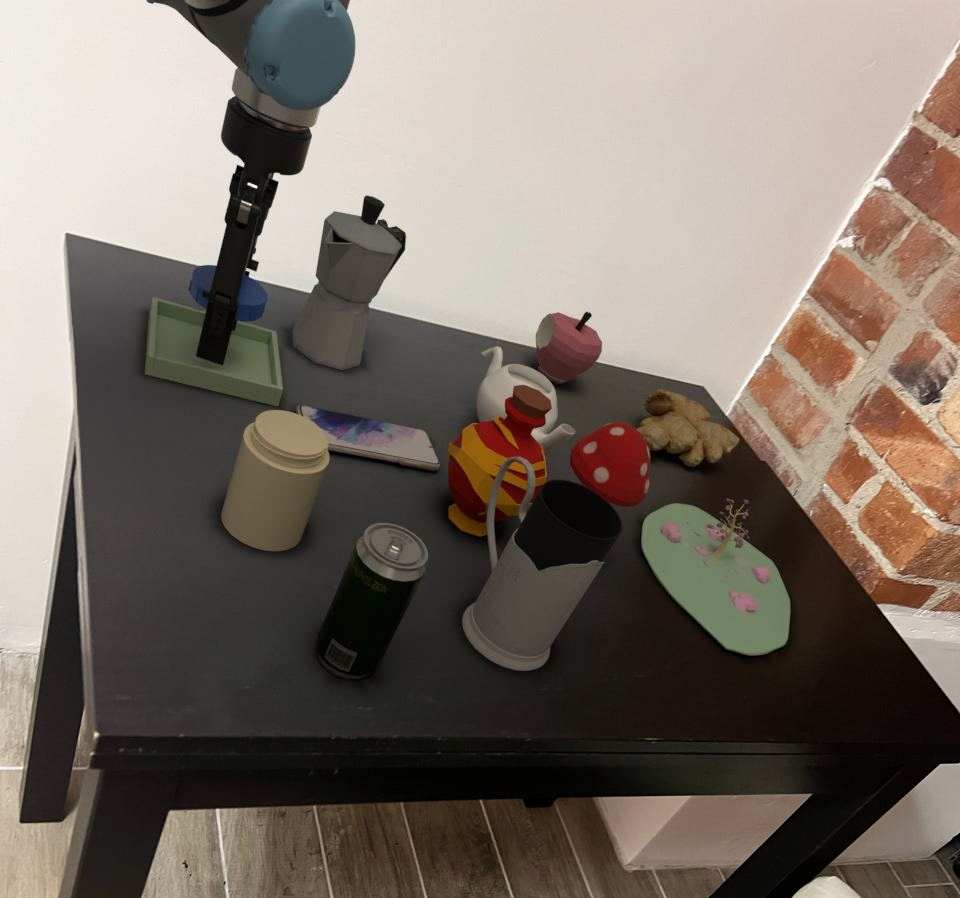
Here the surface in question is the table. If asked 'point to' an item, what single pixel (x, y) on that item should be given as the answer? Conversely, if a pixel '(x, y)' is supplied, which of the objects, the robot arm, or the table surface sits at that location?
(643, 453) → the decorative mushroom
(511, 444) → the potion bottle
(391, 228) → the coffee maker
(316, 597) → the table surface
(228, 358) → the tray
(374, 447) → the smartphone
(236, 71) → the robot arm
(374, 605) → the beer can
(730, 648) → the plant
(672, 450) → the ginger root
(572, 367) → the apple
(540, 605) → the glass holder
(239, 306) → the lid
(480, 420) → the teapot
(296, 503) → the jar
